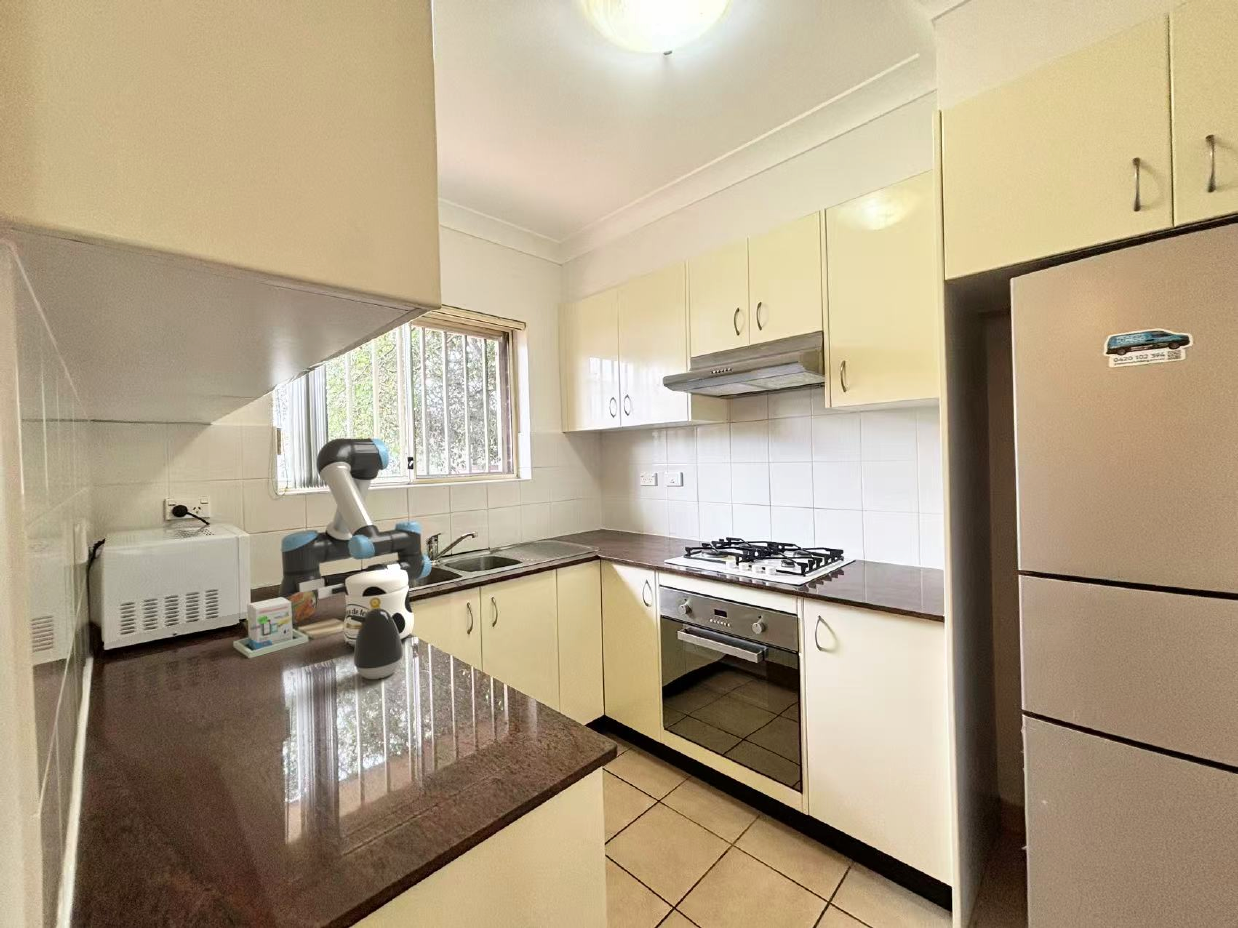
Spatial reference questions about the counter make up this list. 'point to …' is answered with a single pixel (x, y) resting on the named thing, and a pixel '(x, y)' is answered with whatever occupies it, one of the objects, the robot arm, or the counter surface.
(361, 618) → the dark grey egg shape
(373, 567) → the robot arm
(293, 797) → the counter surface
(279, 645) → the tray
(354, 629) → the milk container
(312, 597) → the tin
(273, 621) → the ink box
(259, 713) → the counter surface
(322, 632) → the pad
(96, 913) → the counter surface
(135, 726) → the counter surface
